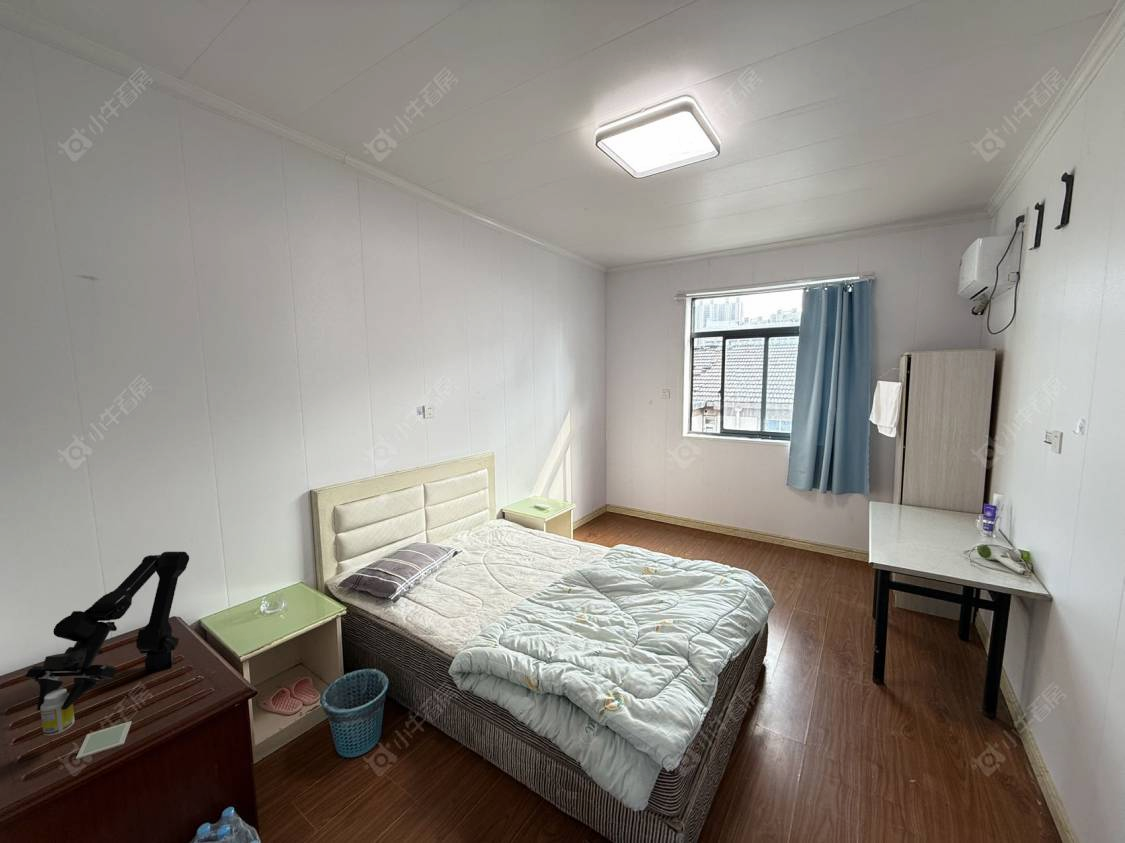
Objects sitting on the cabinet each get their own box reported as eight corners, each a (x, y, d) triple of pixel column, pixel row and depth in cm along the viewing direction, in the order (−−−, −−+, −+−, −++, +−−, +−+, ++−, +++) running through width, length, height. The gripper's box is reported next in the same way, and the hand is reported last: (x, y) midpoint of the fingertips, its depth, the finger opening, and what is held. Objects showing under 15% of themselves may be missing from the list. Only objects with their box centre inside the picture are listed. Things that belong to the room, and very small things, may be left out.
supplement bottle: (74, 716, 121) (70, 683, 120) (75, 727, 118) (71, 693, 116) (43, 728, 117) (39, 694, 116) (43, 740, 113) (39, 705, 112)
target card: (131, 722, 127) (131, 720, 127) (123, 744, 120) (123, 742, 120) (87, 735, 122) (87, 734, 122) (75, 759, 115) (75, 758, 115)
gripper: (27, 639, 117) (-18, 708, 108) (103, 638, 119) (65, 705, 110) (61, 647, 126) (22, 712, 117) (131, 646, 128) (98, 709, 118)
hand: (51, 709), depth 115 cm, fingers closed on supplement bottle, 6 cm apart
